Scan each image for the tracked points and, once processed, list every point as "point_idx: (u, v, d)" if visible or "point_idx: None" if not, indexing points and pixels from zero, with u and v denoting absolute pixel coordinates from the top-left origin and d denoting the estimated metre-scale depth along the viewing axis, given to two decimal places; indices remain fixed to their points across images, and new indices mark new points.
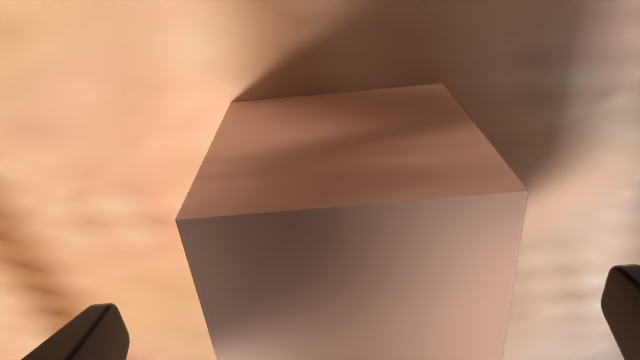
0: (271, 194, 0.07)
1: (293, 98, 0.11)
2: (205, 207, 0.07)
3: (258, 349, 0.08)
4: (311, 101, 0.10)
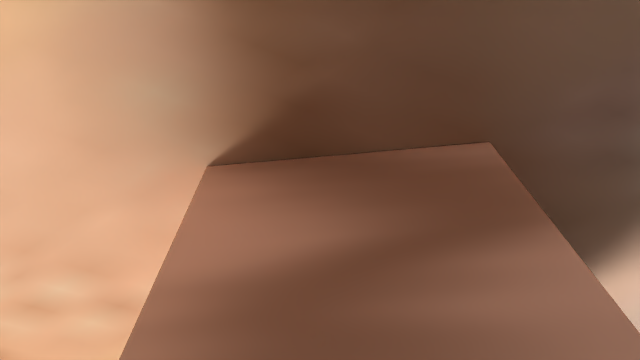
0: None
1: (289, 165, 0.08)
2: None
3: None
4: (313, 171, 0.08)
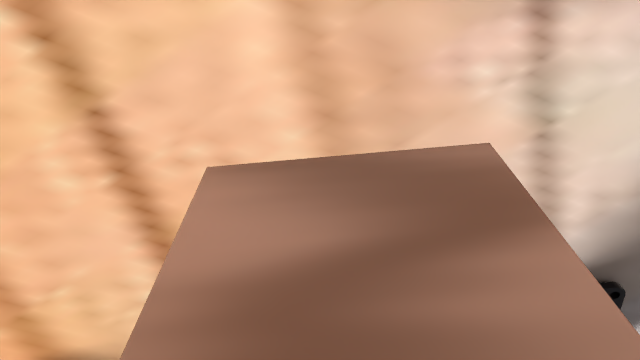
0: None
1: (289, 165, 0.08)
2: None
3: None
4: (313, 172, 0.08)
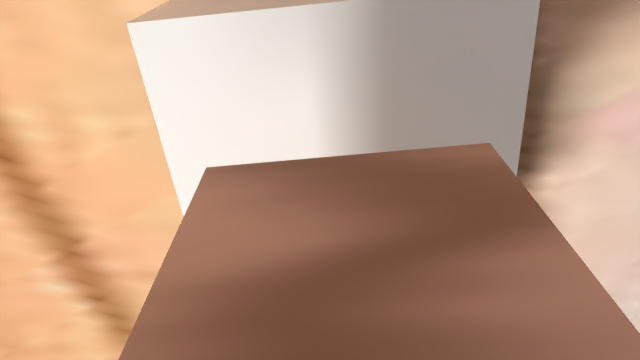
0: None
1: (289, 166, 0.08)
2: None
3: None
4: (313, 172, 0.08)
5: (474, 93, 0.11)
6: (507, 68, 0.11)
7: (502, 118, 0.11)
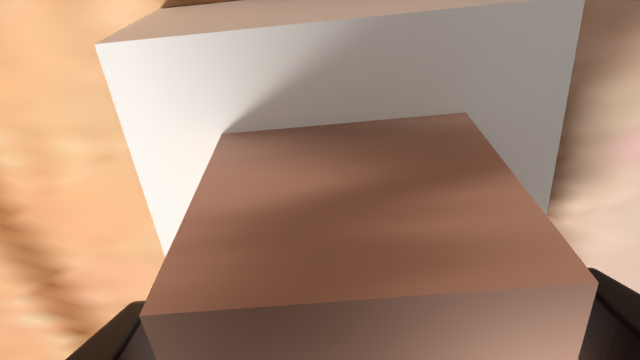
0: (263, 277, 0.05)
1: (293, 131, 0.09)
2: (179, 296, 0.05)
3: None
4: (314, 136, 0.09)
5: (500, 124, 0.09)
6: (540, 95, 0.09)
7: (532, 151, 0.10)
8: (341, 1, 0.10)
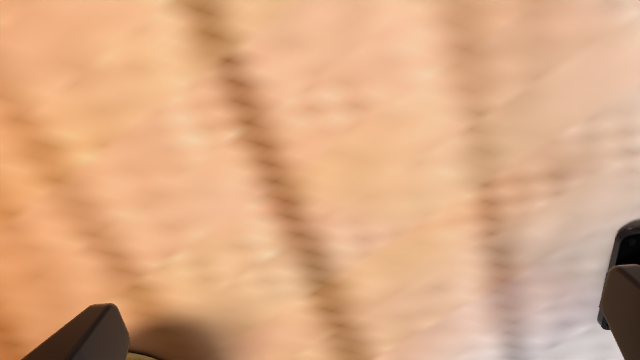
0: None
1: None
2: None
3: None
4: None
5: None
6: None
7: None
8: None
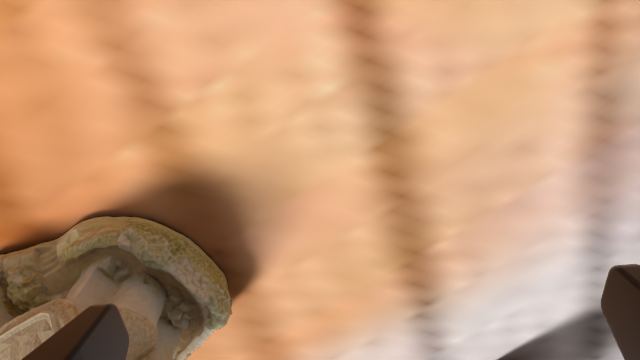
0: None
1: None
2: None
3: None
4: None
5: None
6: None
7: None
8: None
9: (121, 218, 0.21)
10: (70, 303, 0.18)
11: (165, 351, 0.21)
